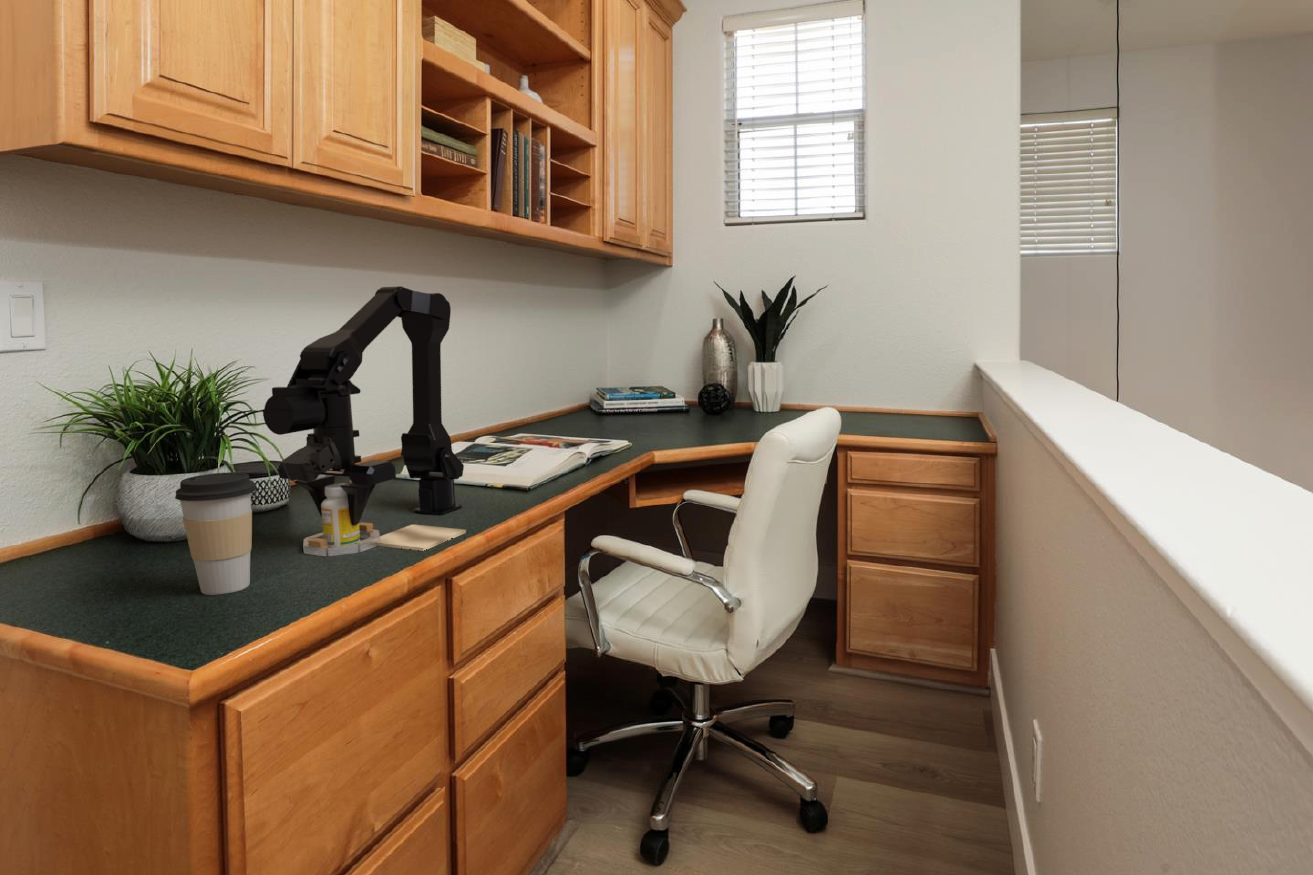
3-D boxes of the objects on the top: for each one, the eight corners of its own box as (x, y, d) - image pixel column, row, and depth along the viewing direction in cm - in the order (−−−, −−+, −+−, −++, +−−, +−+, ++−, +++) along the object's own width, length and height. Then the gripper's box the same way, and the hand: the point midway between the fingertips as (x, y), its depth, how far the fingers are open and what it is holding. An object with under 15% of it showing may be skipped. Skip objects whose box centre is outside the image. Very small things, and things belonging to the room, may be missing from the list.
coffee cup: (177, 588, 106) (164, 478, 104) (252, 571, 113) (241, 468, 111) (197, 605, 100) (184, 489, 97) (275, 586, 106) (265, 477, 104)
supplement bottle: (319, 550, 123) (314, 490, 121) (330, 541, 128) (325, 483, 126) (355, 549, 123) (350, 488, 122) (364, 539, 128) (360, 481, 127)
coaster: (412, 527, 135) (412, 524, 135) (466, 532, 131) (466, 529, 131) (366, 544, 125) (366, 541, 125) (423, 551, 121) (422, 547, 121)
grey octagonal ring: (341, 532, 133) (340, 520, 132) (395, 538, 128) (394, 525, 128) (287, 551, 122) (286, 537, 122) (343, 558, 118) (342, 544, 118)
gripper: (244, 430, 119) (254, 531, 121) (340, 435, 112) (349, 542, 114) (303, 421, 129) (311, 514, 131) (394, 425, 122) (401, 523, 124)
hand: (340, 523), depth 125 cm, fingers closed on supplement bottle, 5 cm apart
